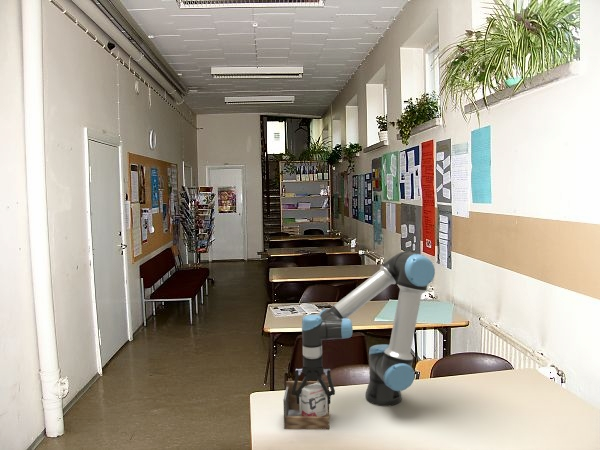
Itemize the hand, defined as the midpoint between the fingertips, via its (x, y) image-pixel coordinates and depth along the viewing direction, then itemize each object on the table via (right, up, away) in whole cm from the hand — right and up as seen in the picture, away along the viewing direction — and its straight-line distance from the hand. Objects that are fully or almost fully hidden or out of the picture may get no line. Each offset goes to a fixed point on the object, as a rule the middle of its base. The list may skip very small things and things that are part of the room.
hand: (313, 411), depth 198 cm
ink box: (0, -2, 0) cm, 2 cm away
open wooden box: (-3, -4, 0) cm, 5 cm away
